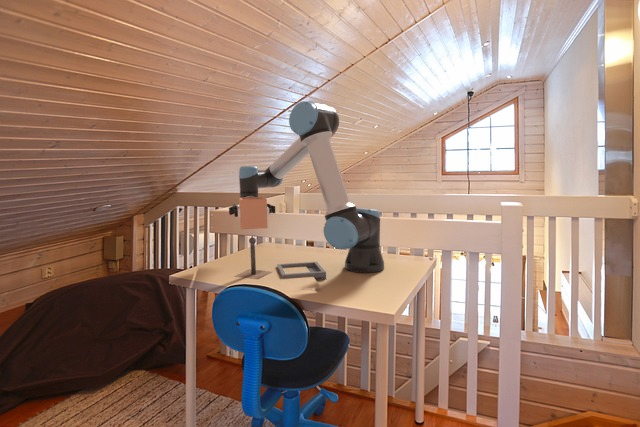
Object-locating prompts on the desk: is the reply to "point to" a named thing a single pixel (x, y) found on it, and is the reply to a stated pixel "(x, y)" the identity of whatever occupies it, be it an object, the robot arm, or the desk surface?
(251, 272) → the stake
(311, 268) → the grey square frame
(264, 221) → the orange block
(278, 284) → the desk surface
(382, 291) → the desk surface
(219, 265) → the desk surface
